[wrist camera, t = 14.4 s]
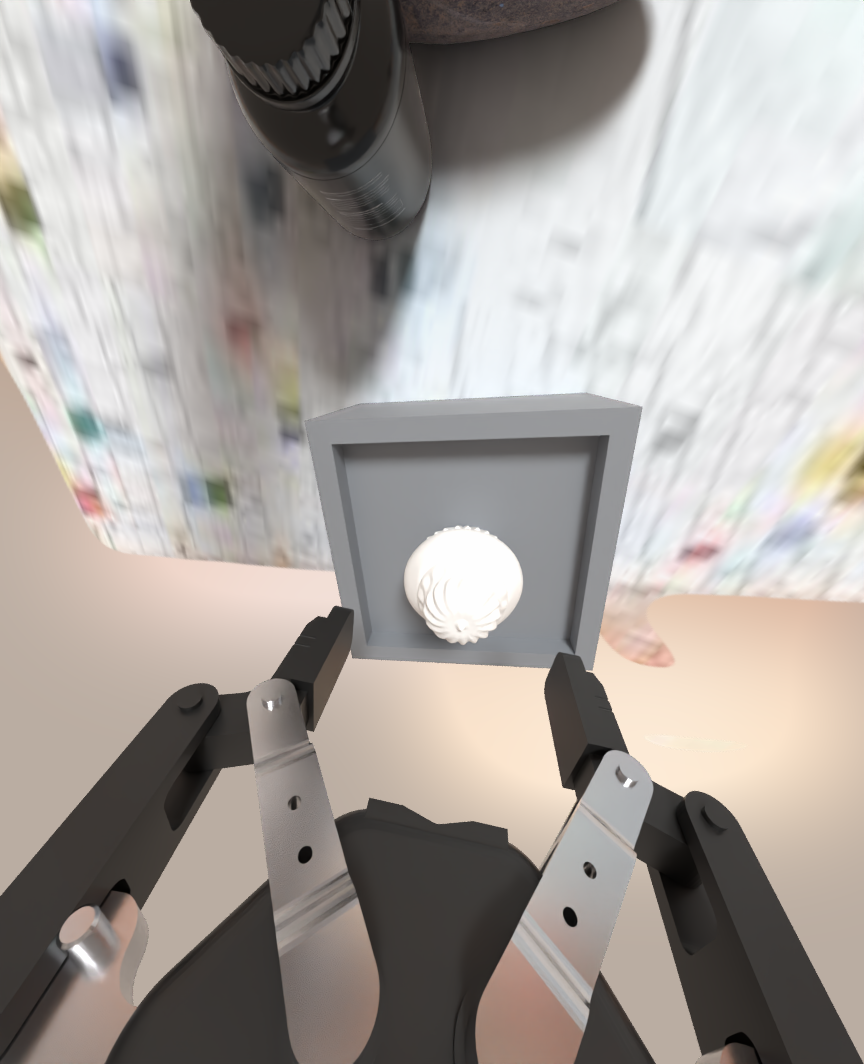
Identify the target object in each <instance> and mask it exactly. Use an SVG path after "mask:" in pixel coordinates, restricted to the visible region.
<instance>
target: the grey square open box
mask: <svg viewBox="0 0 864 1064" xmlns="http://www.w3.org/2000/svg"><path fill="white" fill-rule="evenodd" d="M641 412H642V406H638V405H634V404H630V403H626V402H622V401H618V400H613V399H609V398H605V397H601V396H597V395H593V394H589V393H572V394H551V395H530V396H510V397H489V398H469V399H448V400H428V401H407V402H386V403H366V404H357V405H354V406H351V407H348V408H345V409H342V410H338V411H335V412H332V413H329V414H326V415H323V416H319V417H316V418H313V419H310V420H307V421H305V425H306V430H307V435H308V440H309V445H310V450H311V455H312V460H313V465H314V470H315V475H316V480H317V485H318V490H319V495H320V500H321V505H322V510H323V515H324V520H325V525H326V530H327V534H328V539H329V544H330V549H331V554H332V559H333V564H334V569H335V574H336V579H337V584H338V589H339V594H340V599H341V604H342V607H344V608H349V609H353V610H354V624H353V639H352V644H351V648H350V649H351V653H352V658H359V659H378V660H397V661H417V662H437V663H456V664H475V665H495V666H514V667H534V668H551V667H552V664H553V662H554V659H555V657H556V655H557V653H558V652H562V653H567V654H572V655H577V656H580V657H581V659H582V661H583V664H584V667H585V670H593V665H594V660H595V654H596V649H597V644H598V638H599V633H600V628H601V623H602V618H603V612H604V607H605V602H606V596H607V591H608V586H609V581H610V575H611V570H612V565H613V560H614V554H615V549H616V544H617V538H618V533H619V528H620V523H621V517H622V512H623V507H624V502H625V496H626V491H627V486H628V480H629V475H630V470H631V465H632V459H633V454H634V449H635V444H636V438H637V433H638V428H639V422H640V417H641ZM456 526H462V527H465V526H469V527H478V528H479V529H480V530H485V531H488V532H489V534H491V535H494V536H497V539H499V540H500V541H502V542H503V543H504V544H505V545H507V546H508V547H509V548H510V549H511V551H512V552H513V553H514V555H515V556H516V558H517V560H518V562H519V564H520V567H521V570H522V575H523V589H522V593H521V596H520V599H519V601H518V603H517V605H516V607H515V608H514V610H513V611H512V612H511V613H510V615H509V616H508V617H507V618H506V619H505V620H504V621H502V622H501V623H500V624H498V625H497V627H496V629H494V630H492V631H488V637H487V638H479V639H478V641H477V642H476V643H472V642H470V641H468V642H467V643H466V644H465V645H462V644H460V643H459V642H455V643H450V642H448V641H447V640H446V639H441V638H439V637H438V636H437V635H436V634H435V633H434V631H433V630H431V629H430V628H429V627H428V625H427V624H426V620H425V619H424V618H423V617H421V616H420V615H419V614H418V613H417V612H416V611H415V610H414V608H413V607H412V606H411V604H410V602H409V600H408V598H407V596H406V592H405V587H404V572H405V568H406V565H407V562H408V560H409V558H410V557H411V555H412V554H413V552H414V551H415V550H416V549H417V548H418V546H419V545H420V544H422V543H423V542H424V541H425V540H427V537H430V536H433V535H434V534H435V532H437V531H442V530H443V529H444V528H451V527H456Z"/></svg>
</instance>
